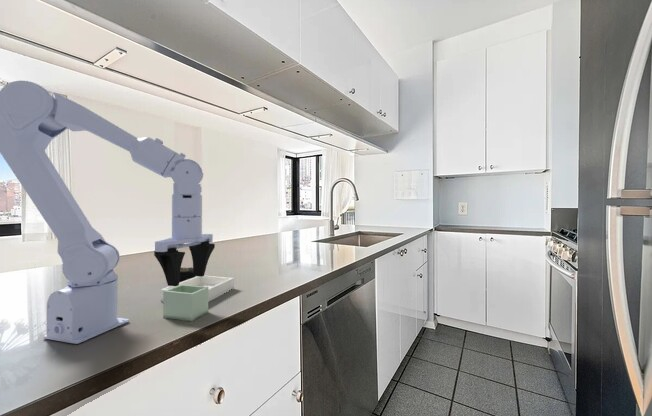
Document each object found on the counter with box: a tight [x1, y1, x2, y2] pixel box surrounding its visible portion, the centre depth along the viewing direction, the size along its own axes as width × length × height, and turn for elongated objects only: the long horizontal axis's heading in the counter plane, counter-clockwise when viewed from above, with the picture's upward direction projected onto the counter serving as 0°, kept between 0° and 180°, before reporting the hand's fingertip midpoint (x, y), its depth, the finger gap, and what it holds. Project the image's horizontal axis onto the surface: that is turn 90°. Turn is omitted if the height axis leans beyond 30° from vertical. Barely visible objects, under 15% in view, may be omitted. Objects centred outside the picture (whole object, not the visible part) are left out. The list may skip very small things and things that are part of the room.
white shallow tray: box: [160, 275, 235, 303], centre depth 72 cm, size 14×11×3 cm
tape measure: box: [179, 266, 197, 283], centre depth 85 cm, size 7×7×4 cm
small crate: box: [162, 285, 209, 322], centre depth 59 cm, size 5×7×6 cm
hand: (186, 280), depth 59 cm, fingers open, 7 cm apart
